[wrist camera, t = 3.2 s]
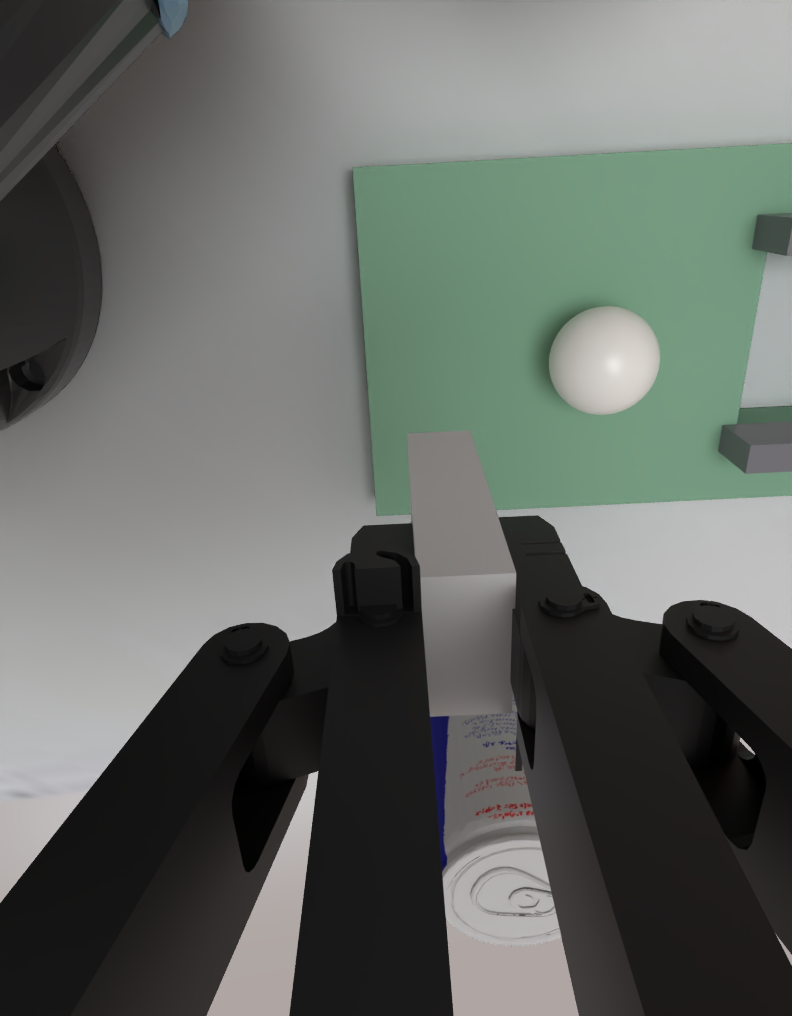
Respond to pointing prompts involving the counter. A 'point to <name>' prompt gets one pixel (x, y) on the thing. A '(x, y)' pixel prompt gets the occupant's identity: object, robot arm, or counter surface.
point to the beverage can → (489, 833)
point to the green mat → (566, 316)
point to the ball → (604, 360)
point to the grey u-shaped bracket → (774, 440)
